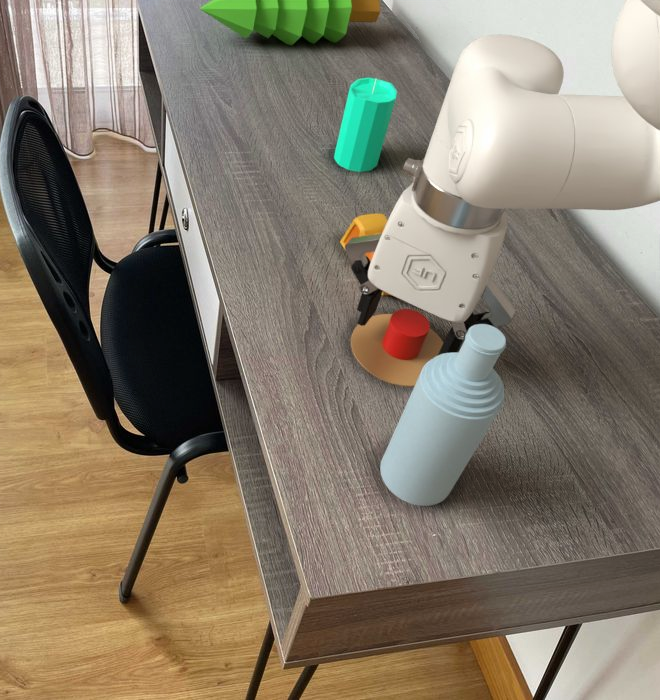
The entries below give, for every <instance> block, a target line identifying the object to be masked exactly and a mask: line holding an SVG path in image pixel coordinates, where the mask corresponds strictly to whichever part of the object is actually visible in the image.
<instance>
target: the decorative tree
mask: <svg viewBox="0 0 660 700" xmlns="http://www.w3.org/2000/svg"><path fill="white" fill-rule="evenodd" d="M198 10H200V11H202V12H203V13H205V14H206V15H208V16H209V17H211V18H212V19H214V20H216V21H218V22H219V23H220V24H222V25H224V26H225V27H227V28H228V29H230V30H231V31H233V32H234V33H236V34H238V36H239V35H240V37H243V38H244V39H248V38H249V36H250V35H251V34H252V33H253V32H255V33H257V34H260V35H261V36H263V37H265V38H267V39H269V38H270V37H271V36H272V35H273V37H275V38H277V39H278V40H280V41H281V42H283V43H284V44H286V45H289V46H293V45H294V44H295V43H296V42H297V41H298V40H300V39H301V37H302V38H304V39H305V40H306V41H308V42H309V43H310V44H314V45H316V43H317V42H318V41H319V40H320V39H321V38H322V37H323V38H324V39H326V40H328V41H329V42H331V43H338V42H339V41H340V40H341V39H343V38H344V37H345V36H346V35H347V31H348V26H349V23H377V21H378V19H379V17H380V14H381V4H380V0H211V1H209V2H207V3H206V4H204V5H202V6H201V7H199V8H198Z"/></svg>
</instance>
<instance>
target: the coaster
mask: <svg viewBox="0 0 660 700" xmlns="http://www.w3.org/2000/svg"><path fill="white" fill-rule="evenodd" d="M392 314H393V313H381V314H376V315H375V314H374V315H372V317H371V318H370V319H369V321H368V322H367V323H366V325H365V326H364V325H363V326H361V325H359V324H358V323H357V325H356V326H355V328H354V329H353V331H352V334H351V338H350V346H351V351H352V354H353V356H354V358H355V360H356V361H357V362H358V364H359V365H360V366H361V367H362V368H363V369H364V370H365V371H366V372H367V373H368V374H370V375H371V376H374V377H375V378H377V379H378V380H380V381H382V382H385V383H387V384H390V385H393V386H399V387H408V388H412V387H413V388H414V386H415V384H416V382H417V380H418V377H419V375H420V373H421V371H422V368H423V367H424V365H425V364H426V363H427V362H428V361H430V360H431V359H433V358H434V357H436V356H438V354H439V351H440V349H441V347H442V345H443V343H444V340H442V338H441V336H439V334H438V333H437V332H436V331H435V330H433V329H432V328H431V327H430V329H429V332H428V334H427V336H426V339H425V341H424V343H423V346H422V348H421V350H420V353H419V354H418V356H417V357H415V358H413V359H410V360H401V359H397V358H394V357H392V356H391V355H389V354H388V353H387V352H386V351H385V349H384V348H383V344H382V341H383V338H384V335H385V332H386V330H387V327H388V324H389V321H390V319H391V316H392Z"/></svg>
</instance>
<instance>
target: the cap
mask: <svg viewBox="0 0 660 700" xmlns="http://www.w3.org/2000/svg"><path fill="white" fill-rule="evenodd" d="M391 314H392V316H391V319H390V321H389V324H388V327H387V330H386V332H385V335H384V338H383V341H382V344H383V348H384V349H385V351H386V352H387V353H388V354H389V355H391V356H392V357H394V358H397V359H401V360H410V359H413V358H415V357H417V356H418V354H419V353H420V350H421V348H422V346H423V343H424V341H425V339H426V336H427V334H428V332H429V329H430V328H431V325H430V321H429V320H428V318H427V317H426V316H425V315H424V314H422V312H419V311H417V310H414V309H412V308H411V309H410V308H401V309H397V310H395V311H394V312H393V313H391Z"/></svg>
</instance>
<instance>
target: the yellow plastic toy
mask: <svg viewBox="0 0 660 700" xmlns="http://www.w3.org/2000/svg"><path fill="white" fill-rule="evenodd" d="M387 221H388V218H387V217H386V216H385V214H384V213H377V212H376V213H367V214H361V215H359V216H356V217H355V218H354V219H353V220H352V221H351V223H350V225H349V227H348V228H347V230H346V231H345V232H344V235H343V236H342V237H341V239H340V241H339V244H341V246H342V247H343V249H344V250H345V245H346V244H347V243H348V242H349V240H350V239H351V238H354V237H361V236H368V235H375V234H382V232H383V230H384V228H385V225H386V223H387ZM373 255H374V252H368V253H366V256H367V257H368V258H369V260H370V262H371V260H372V257H373ZM378 267H379V266H378ZM381 296H387V297H388V296H392V295H391V294H388V293H386V292H384V291H383V292H382V295H381Z"/></svg>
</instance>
